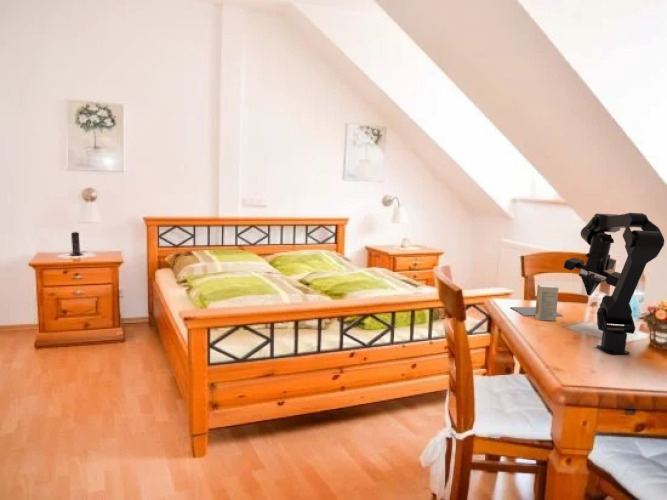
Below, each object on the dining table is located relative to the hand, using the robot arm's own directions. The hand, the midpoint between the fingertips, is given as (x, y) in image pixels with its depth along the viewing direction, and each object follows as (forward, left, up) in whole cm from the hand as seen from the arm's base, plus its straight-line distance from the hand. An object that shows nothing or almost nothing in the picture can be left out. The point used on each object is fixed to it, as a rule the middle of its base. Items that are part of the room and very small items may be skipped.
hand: (589, 295), depth 176 cm
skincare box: (+13, +7, -12) cm, 19 cm away
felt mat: (+22, +6, -12) cm, 25 cm away
